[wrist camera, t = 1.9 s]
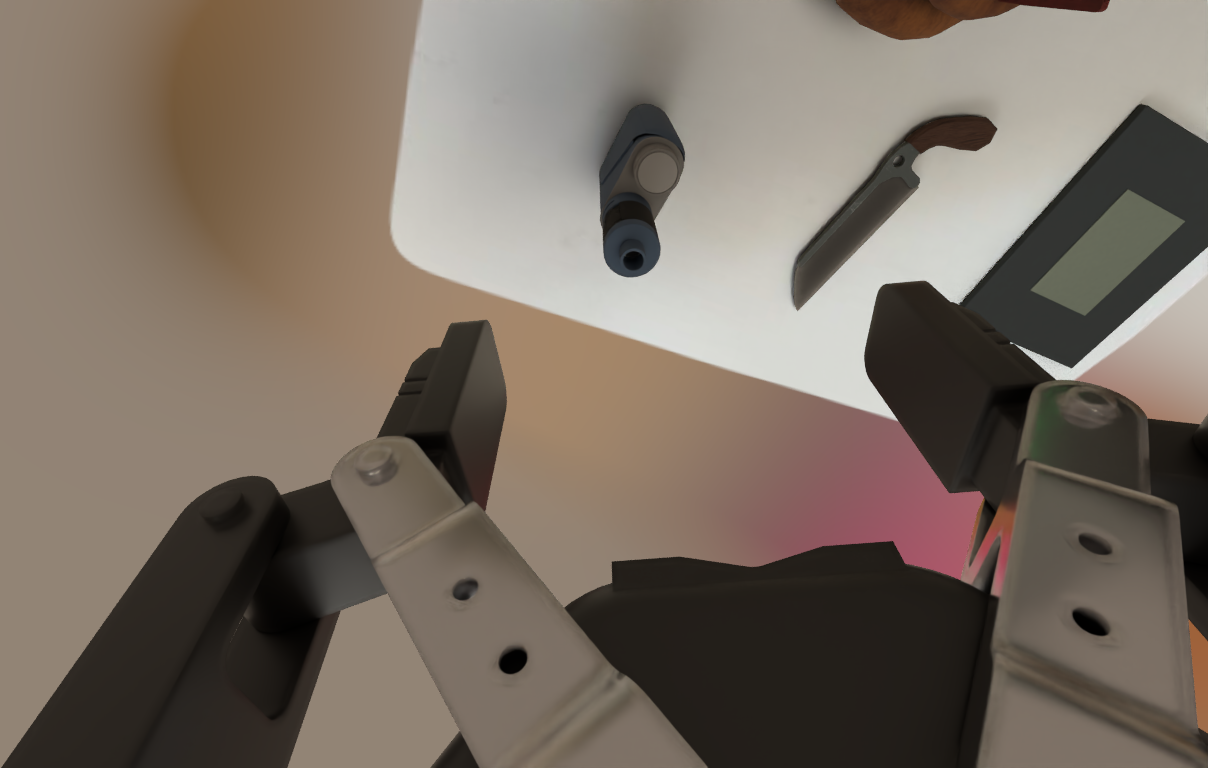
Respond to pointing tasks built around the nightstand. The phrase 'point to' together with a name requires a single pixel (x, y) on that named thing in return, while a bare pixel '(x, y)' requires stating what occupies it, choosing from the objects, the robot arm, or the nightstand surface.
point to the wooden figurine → (942, 13)
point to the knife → (882, 199)
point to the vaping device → (638, 188)
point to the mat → (1103, 242)
